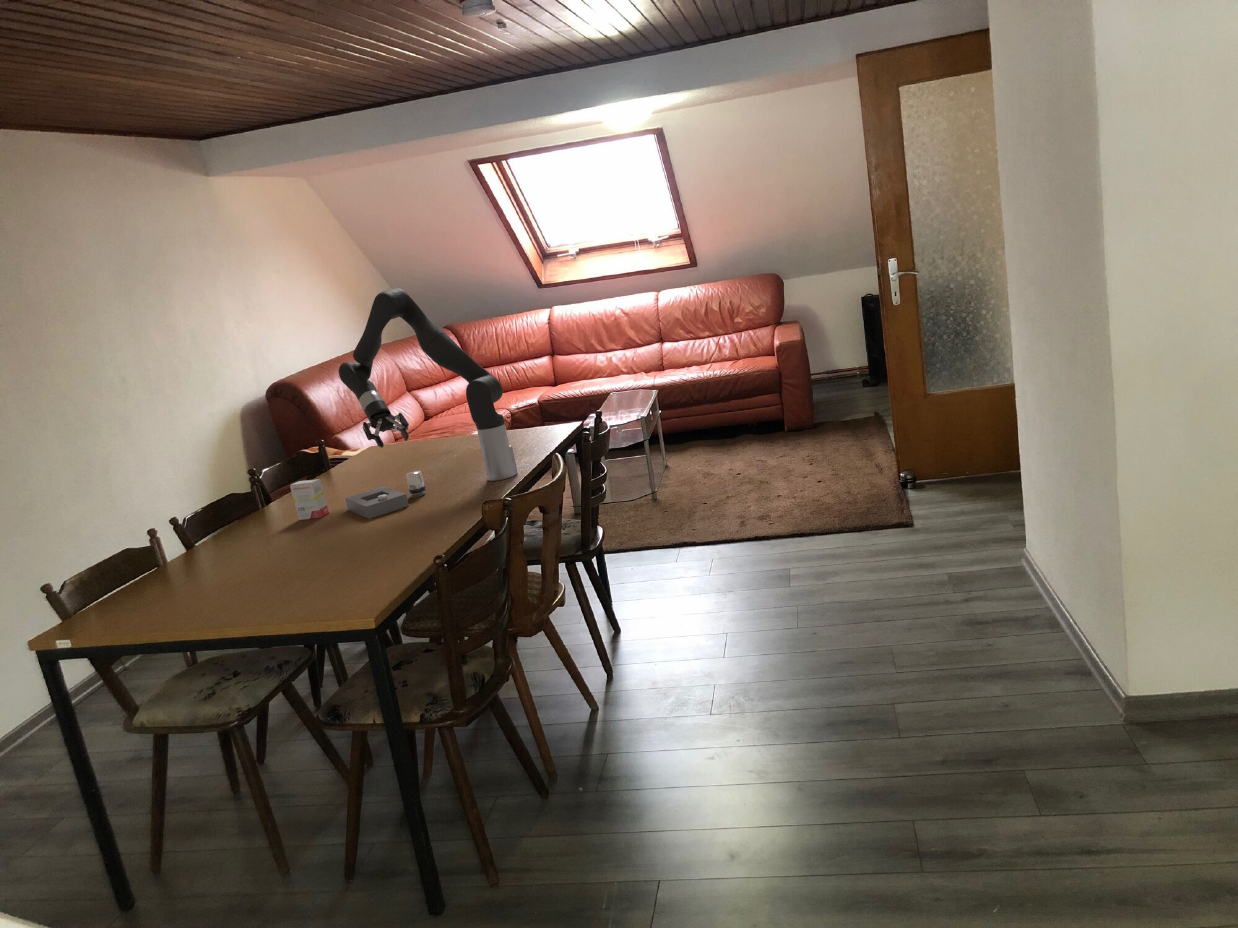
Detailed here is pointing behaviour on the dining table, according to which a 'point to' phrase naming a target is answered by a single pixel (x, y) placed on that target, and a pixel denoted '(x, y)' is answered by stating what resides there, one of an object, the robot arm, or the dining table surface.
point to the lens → (416, 484)
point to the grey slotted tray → (376, 502)
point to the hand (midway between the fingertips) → (394, 442)
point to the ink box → (309, 499)
